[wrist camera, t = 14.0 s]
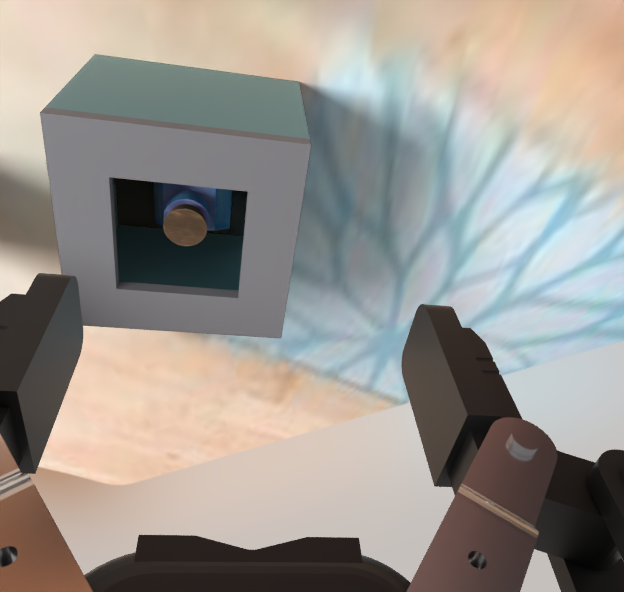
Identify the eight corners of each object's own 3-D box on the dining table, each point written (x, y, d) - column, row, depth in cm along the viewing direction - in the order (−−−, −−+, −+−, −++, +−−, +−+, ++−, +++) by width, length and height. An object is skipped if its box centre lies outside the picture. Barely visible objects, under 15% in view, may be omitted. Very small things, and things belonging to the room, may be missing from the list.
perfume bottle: (234, 132, 49) (229, 192, 40) (232, 195, 53) (226, 265, 43) (163, 125, 49) (139, 185, 39) (165, 190, 52) (144, 260, 43)
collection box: (107, 232, 54) (68, 324, 43) (95, 54, 45) (39, 112, 34) (276, 247, 57) (281, 338, 46) (298, 81, 47) (311, 144, 36)
